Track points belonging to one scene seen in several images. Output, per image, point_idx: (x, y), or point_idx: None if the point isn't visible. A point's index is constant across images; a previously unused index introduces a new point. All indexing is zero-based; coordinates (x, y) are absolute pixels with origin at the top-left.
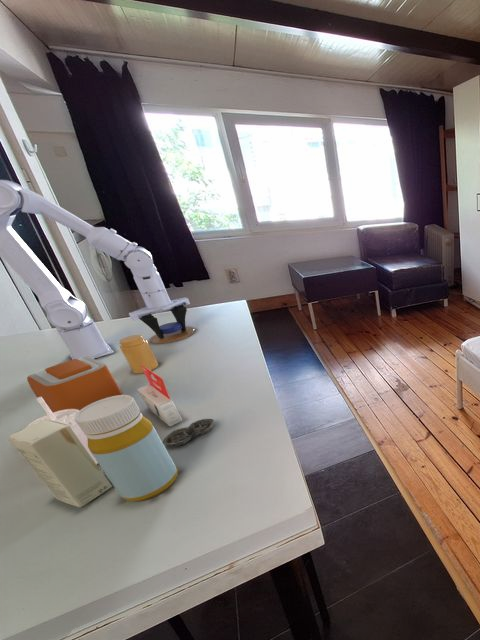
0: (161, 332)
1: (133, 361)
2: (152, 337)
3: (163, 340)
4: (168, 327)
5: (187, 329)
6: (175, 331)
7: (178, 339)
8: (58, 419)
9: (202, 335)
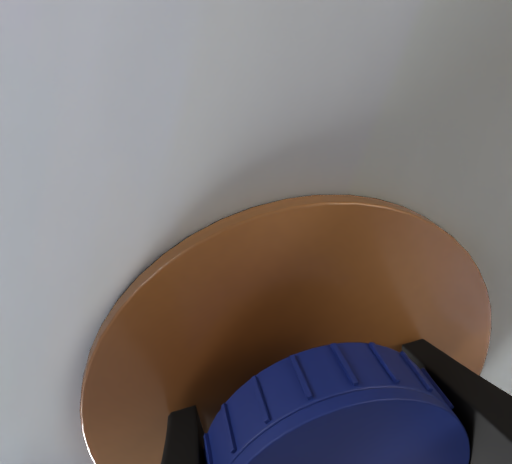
0: (458, 383)
1: None
2: None
3: (437, 279)
4: (386, 440)
5: (149, 432)
6: (316, 354)
7: (325, 196)
8: None
9: (22, 85)
